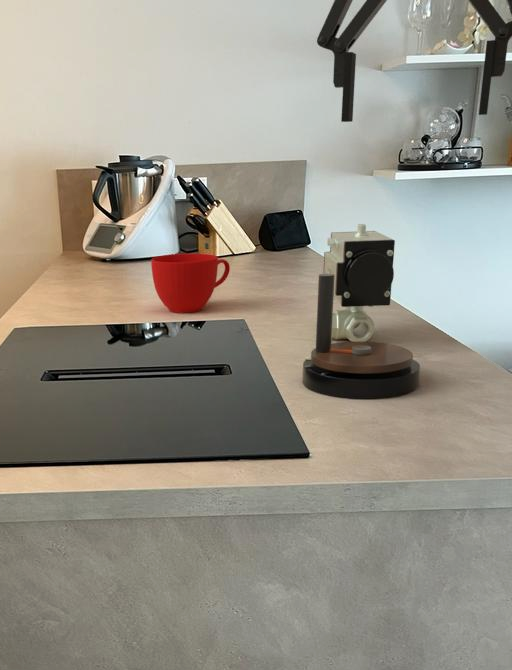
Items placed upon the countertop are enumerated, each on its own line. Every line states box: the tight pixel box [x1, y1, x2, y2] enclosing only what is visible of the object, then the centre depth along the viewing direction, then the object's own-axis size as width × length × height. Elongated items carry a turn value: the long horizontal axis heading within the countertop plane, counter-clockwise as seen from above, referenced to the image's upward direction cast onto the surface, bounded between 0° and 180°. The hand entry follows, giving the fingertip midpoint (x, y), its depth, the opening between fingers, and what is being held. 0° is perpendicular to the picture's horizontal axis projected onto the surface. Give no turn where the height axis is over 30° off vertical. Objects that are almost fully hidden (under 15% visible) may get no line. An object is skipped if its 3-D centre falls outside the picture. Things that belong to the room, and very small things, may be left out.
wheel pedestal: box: [302, 356, 421, 400], centre depth 104 cm, size 15×15×3 cm
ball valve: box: [322, 223, 396, 342], centre depth 124 cm, size 18×8×18 cm, turn 177°
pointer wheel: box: [310, 273, 414, 374], centre depth 101 cm, size 13×13×11 cm
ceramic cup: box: [150, 253, 231, 314], centre depth 155 cm, size 13×17×10 cm
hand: (412, 118), depth 82 cm, fingers open, 13 cm apart
